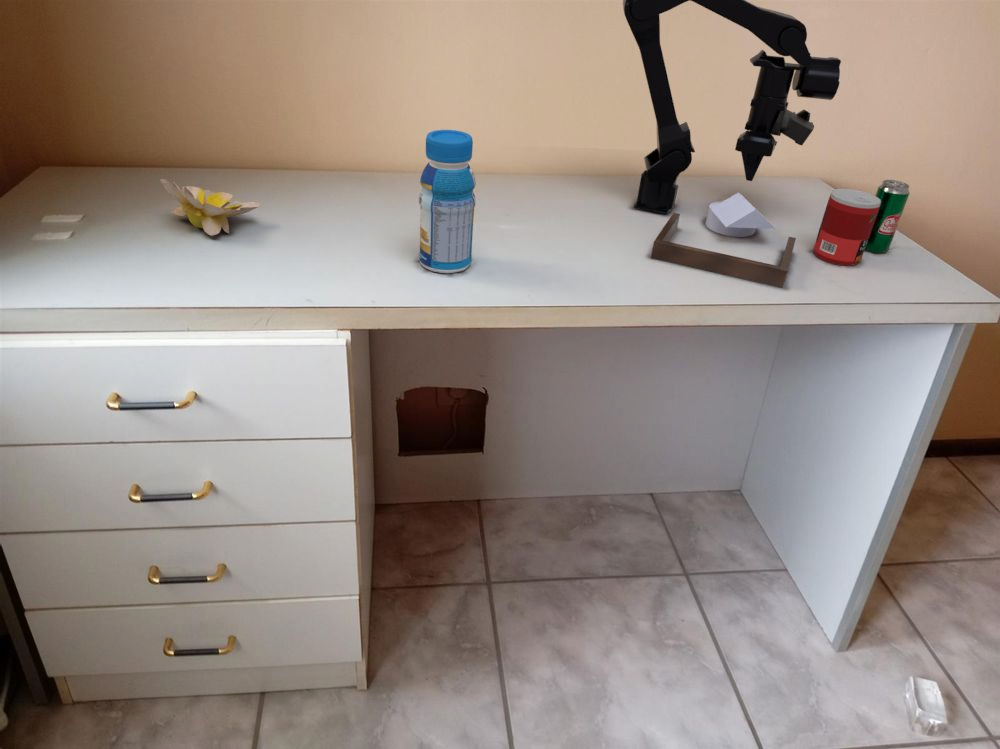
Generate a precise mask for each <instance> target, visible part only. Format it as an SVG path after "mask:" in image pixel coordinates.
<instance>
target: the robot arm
mask: <svg viewBox="0 0 1000 749" xmlns="http://www.w3.org/2000/svg"><path fill="white" fill-rule="evenodd" d="M689 1H690V2H693V3H695V4H697V5H699V6H701V7H703V8H705V9H707V10H709V11H711V12H713V13H715V14H717V15H718V16H720V17H721V18H724V19H726V20H728V21H730V22H732V23H734V24H736V25H737V26H740V27H742V28H743V29H746V30H748V31H749V32H750V33H751V34H753V35H754V36H755V37H756V38H758V39H759V40H760V41H761V42H762V43H764V44H765V45H766V46H767V47H769V49H771V50H772V51H774V52H775V53H776V54H778V55H779V56H777V55H776V56H775V55H768V54H767V51H765V50H764V49H761V50H760V51H759V52H758V53H757V54H755V55H754V56H752V57H751V58H750V59H749V62H750V63H751V65H752V66H753V67H759V72H758V76H757V80H756V85H755V89H754V93H753V96H752V97H753V98H752V99H751V101H750V104H749V105H750V109H749V113H748V118H747V121H746V122H745V126H744V130H746V131H744V132H742V133H740V135H739V136H738V137H737V139H736V144H735V148H734V151H737V152H740V154H741V158H742V163H743V168H744V169H743V170H744V175H745V180H746V181H748V182H753V180H754V178H755V175H756V173H757V172H758V170H759V168H760V165H761V163H762V161H763V159H764V157H772V155H773V152H774V151H775V149H776V147H777V144H778V141H777V140H776V139H775V137H774V136H777V137H780V136H782V135H784V136H785V137H787V138H789V139H790V140H793V141H794V143H795V144H797V145H799V146H803V145H804V144H805V142H806V141H807V140H808V138H809V137H810V136H811V134H812V132H813V131H814V128H815V125H814V123H813V122H812V121H810V120H811V113H810V112H809V111H807V110H806V109H802V110H801V111H799V112H795V111H792V110H791V111H790V110H789V109H788V106H789V101H788V96H789V93H790V90H791V87H792V90H793V91H795V92H796V96H797V98H806V99H807V98H808V99H818V100H826V101H827V100H828V101H832V100H833V99H834V98H835V96H836V94H837V93H838V89H839V86H840V76H841V70H840V69H841V68H840V66H841V63H842V60H841V59H840V58H838V57H835V56H834V57H833V56H828V57H821V56H820V57H819V56H811V53H810V51H809V48H808V46H807V44H806V42H807V37H808V32H807V28H806V25H805V24H804V23H803V22H802V21H800V20H799V19H797V18H796V17H794V16H793V15H790V14H788V13H784V12H780V11H777V10H774V9H768V8H764V7H760V6H757V5H755V4H753V3H751V2H749V1H748V0H622V11H623V14H624V17H625V19H626V21H627V24H628V27H629V29H630V31H631V34H632V36H633V38H634V40H635V42H636V45H637V46H638V49H639V53H640V57H641V62H642V65H643V70H644V75H645V78H646V82H647V87H648V91H649V96H650V100H651V103H652V104H651V105H652V107H653V112H654V116H655V122H656V123H655V124H656V148H655V149H653V150H652V151H650V152H649V153H648V154H646V155H645V156H644V157H643V158H644V164H645V170H644V171H643V172H642V173H641V175H640V182H639V185H638V192H637V199H636V202H635V203H634V205H633V208H634V209H637V210H641V211H646V212H650V213H651V212H652V213H656V214H661V215H668V214H669V212H670V210H672V209H674V206H675V205H676V202H677V201H676V200H677V195H678V190H679V185H678V184H677V180H678V177H679V175H680V174H681V173H684V172H685V171H687V169H688V168H689V166H691V164H692V160H693V156H692V153H696V150H695V147H694V144H693V142H692V137H691V136H692V135H691V130H690V127H689V124H688V122H687V121H685V122H683V123H680V122H679V120H678V118H677V113H676V112H677V111H676V109H675V104H674V99H673V95H672V91H671V90H672V89H671V85H670V81H669V76H668V73H667V68H666V63H665V59H664V54H663V50H662V46H661V22H660V21H661V20H660V15H661V14H663V13H666V12H668V11H670V10H673V9H674V8H676V7H678V6H680V5H682V4H685V3H687V2H689ZM785 57H790V58H791V59H792V60H793V61H794V62H796V63H792V62H790V63H789V62H786V59H785Z"/></svg>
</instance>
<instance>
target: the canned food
mask: <svg viewBox="0 0 1000 749" xmlns="http://www.w3.org/2000/svg"><path fill="white" fill-rule="evenodd" d="M880 203H881V200H880V199H879V198H878V197H876V196H875V195H874V194H872V193H869V192H866V191H863V190H860V189H859V190H858V189H852V188H835V189H833V190H832V191H831V192H830V195H829V197H828V200H827V203H826V206H825V210H824V213H823V216H822V220H821V223H820V225H819V228H818V232H817V236H816V238H815V242H814V245H813V253H814V255H815V257H817V258H818V259H820V260H821V261H823V262H826V263H829V264H832V265H837V266H844V267H845V266H855V265H857V264H859V263H860V261H861V260H862V259H863V255H864V253H865V251H866V250H865V247H866V245H867V242H868V239H869V236H870V233H871V231H872V228H873V225H874V222H875V219H876V216H877V214H878V211H879V208H880Z"/></svg>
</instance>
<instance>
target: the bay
mask: <svg viewBox="0 0 1000 749" xmlns="http://www.w3.org/2000/svg"><path fill="white" fill-rule="evenodd" d="M680 217H681V213H678V212H673V213H672V214H671V216H670V217H669V218H668V220H667V222H666V223H665V225H664V226H663V227H662V229H661V230H660V231H659V233H658V235H657V236H656V238H655V239H654V241H653V244H652V248H651V249H652V250H651V253H650V254H651V255H650V259H654V260H658V261H662V262H667V263H672V264H676V265H680V266H685V267H690V268H693V269H698V270H703V271H707V272H712V273H716V274H720V275H724V276H729V277H734V278H737V279H742V280H747V281H751V282H755V283H759V284H764V285H767V286H773V287H777V288H783V287H784V283H785V281H786V277H787V274H788V270H789V266H790V263H791V258H792V256H793V251H794V247H795V244H796V240H797V238H796V237H793V236H788V238H787V242H786V245H785V248H784V252H783V256H782V259H781V262H780V265H775V264H771V263H766V262H762V261H758V260H753V259H749V258H743V257H739V256H735V255H730V254H726V253H721V252H716V251H711V250H707V249H703V248H699V247H693V246H690V245H685V244H680V243H675V242H671V239H672V238H673V236H674V234H675V233H676V232H677V230H678V226H679V221H680Z"/></svg>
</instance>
